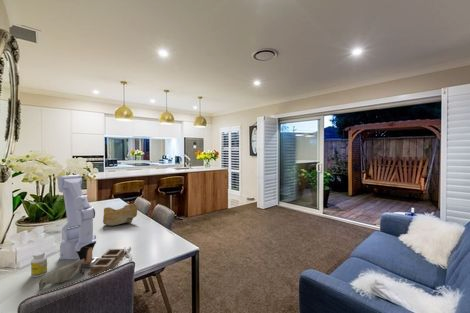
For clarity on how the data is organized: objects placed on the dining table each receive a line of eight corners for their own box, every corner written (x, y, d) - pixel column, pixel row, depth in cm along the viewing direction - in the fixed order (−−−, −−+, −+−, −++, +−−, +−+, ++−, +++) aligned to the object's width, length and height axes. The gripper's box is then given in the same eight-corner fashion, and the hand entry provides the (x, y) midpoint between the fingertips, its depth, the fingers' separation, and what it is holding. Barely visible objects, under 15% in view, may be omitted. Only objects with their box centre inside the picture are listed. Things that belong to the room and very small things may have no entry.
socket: (72, 268, 106) (72, 265, 106) (82, 260, 114) (82, 257, 114) (89, 268, 107) (89, 265, 107) (98, 260, 115) (98, 257, 115)
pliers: (109, 260, 112) (118, 247, 127) (109, 263, 112) (118, 250, 127) (130, 258, 114) (136, 245, 129) (130, 261, 114) (136, 248, 129)
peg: (79, 266, 108) (79, 250, 108) (84, 262, 112) (84, 247, 112) (87, 266, 109) (87, 250, 108) (92, 262, 113) (92, 247, 112)
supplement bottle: (28, 275, 100) (28, 254, 99) (42, 269, 105) (42, 249, 104) (35, 278, 98) (35, 257, 97) (49, 272, 103) (49, 251, 102)
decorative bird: (37, 287, 92) (37, 270, 92) (82, 272, 104) (82, 256, 104) (40, 293, 89) (40, 275, 88) (86, 276, 101) (86, 260, 101)
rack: (87, 274, 102) (87, 267, 102) (108, 253, 122) (109, 248, 122) (107, 274, 103) (108, 267, 103) (125, 253, 123) (125, 248, 123)
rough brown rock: (137, 218, 184) (137, 201, 184) (137, 223, 168) (137, 204, 169) (105, 222, 174) (105, 203, 175) (102, 228, 159) (102, 207, 160)
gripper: (85, 238, 103) (85, 266, 104) (101, 227, 117) (101, 251, 118) (69, 238, 102) (69, 266, 103) (88, 227, 117) (88, 251, 117)
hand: (85, 258), depth 110 cm, fingers open, 4 cm apart
